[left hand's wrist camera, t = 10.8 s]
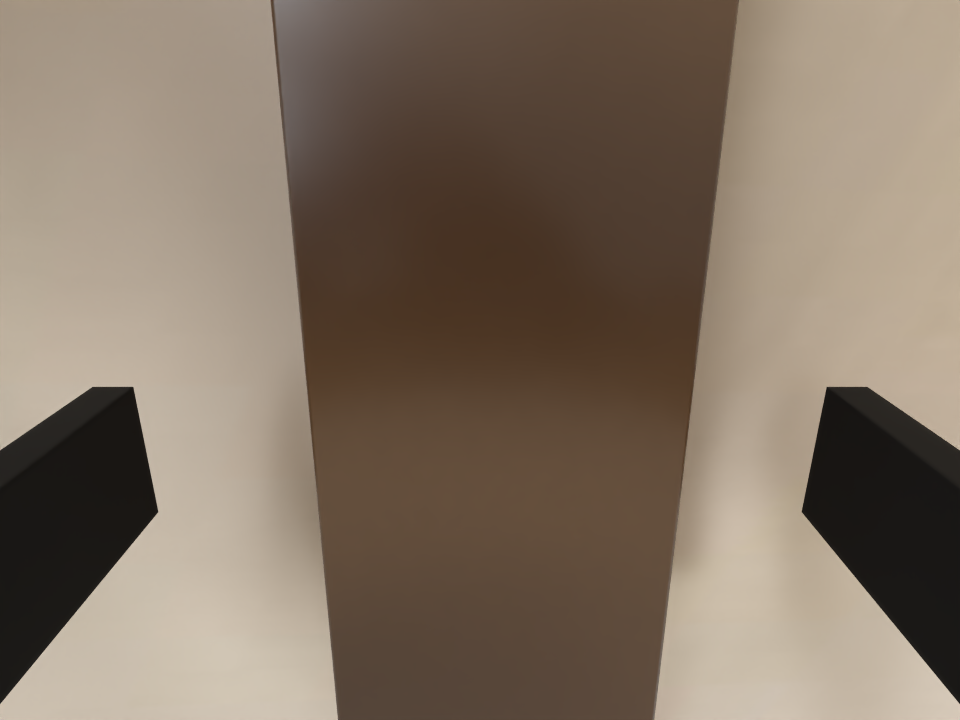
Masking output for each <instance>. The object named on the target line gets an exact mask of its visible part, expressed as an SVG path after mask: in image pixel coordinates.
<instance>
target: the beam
mask: <svg viewBox="0 0 960 720" xmlns="http://www.w3.org/2000/svg"><path fill="white" fill-rule="evenodd" d="M738 4H739V0H271V10H272V21H273V32H274V42H275V53H276V64H277V74H278V85H279V96H280V106H281V117H282V128H283V138H284V149H285V159H286V170H287V181H288V191H289V202H290V213H291V223H292V234H293V245H294V255H295V266H296V277H297V287H298V298H299V309H300V319H301V330H302V341H303V351H304V362H305V373H306V383H307V394H308V405H309V415H310V426H311V437H312V447H313V458H314V468H315V479H316V490H317V500H318V511H319V522H320V532H321V543H322V554H323V564H324V575H325V586H326V596H327V607H328V618H329V628H330V639H331V650H332V660H333V671H334V682H335V692H336V703H337V714H338V720H654V717H655V708H656V700H657V691H658V683H659V674H660V666H661V657H662V649H663V640H664V632H665V623H666V615H667V606H668V598H669V589H670V581H671V572H672V564H673V555H674V547H675V538H676V530H677V522H678V513H679V505H680V496H681V488H682V479H683V471H684V462H685V454H686V445H687V437H688V428H689V420H690V411H691V403H692V394H693V386H694V377H695V369H696V360H697V352H698V343H699V335H700V326H701V318H702V309H703V301H704V293H705V284H706V276H707V267H708V259H709V250H710V242H711V233H712V225H713V216H714V208H715V199H716V191H717V182H718V174H719V165H720V157H721V148H722V140H723V131H724V123H725V114H726V106H727V97H728V89H729V80H730V72H731V63H732V55H733V47H734V38H735V30H736V21H737V13H738Z"/></svg>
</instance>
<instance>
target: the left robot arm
mask: <svg viewBox="0 0 960 720" xmlns="http://www.w3.org/2000/svg"><path fill="white" fill-rule="evenodd" d="M157 513H158V508H157V503H156V498H155V493H154V488H153V483H152V478H151V473H150V468H149V463H148V458H147V453H146V448H145V443H144V438H143V433H142V428H141V423H140V418H139V413H138V408H137V404H136V399H135V394H134V389H133V387H92V388H91V389H89V390H88V391H86V392H85V393H83V394H82V395H80V396H79V397H77V398H76V399H75V400H73V401H72V402H70V403H69V404H67V405H66V406H64V407H63V408H61V409H60V410H59V411H57V412H56V413H54V414H53V415H51V416H50V417H48V418H47V419H45V420H44V421H42V422H41V423H40V424H38V425H37V426H35V427H34V428H32V429H31V430H29V431H28V432H26V433H25V434H24V435H22V436H21V437H19V438H18V439H16V440H15V441H13V442H12V443H10V444H9V445H8V446H6V447H5V448H3V449H2V450H0V704H1V702H2V701H3V700H4V699H5V697H6V696H7V695H8V694H9V693H10V691H11V690H12V689H13V688H14V687H15V685H16V684H17V683H18V682H19V680H20V679H21V678H22V677H23V676H24V674H25V673H26V672H27V671H28V670H29V668H30V667H31V666H32V665H33V663H34V662H35V661H36V660H37V659H38V657H39V656H40V655H41V654H42V653H43V651H44V650H45V649H46V648H47V646H48V645H49V644H50V643H51V642H52V640H53V639H54V638H55V637H56V636H57V634H58V633H59V632H60V631H61V629H62V628H63V627H64V626H65V625H66V623H67V622H68V621H69V620H70V619H71V617H72V616H73V615H74V614H75V612H76V611H77V610H78V609H79V608H80V606H81V605H82V604H83V603H84V602H85V600H86V599H87V598H88V597H89V595H90V594H91V593H92V592H93V591H94V589H95V588H96V587H97V586H98V585H99V583H100V582H101V581H102V580H103V578H104V577H105V576H106V575H107V574H108V572H109V571H110V570H111V569H112V568H113V566H114V565H115V564H116V563H117V561H118V560H119V559H120V558H121V557H122V555H123V554H124V553H125V552H126V551H127V549H128V548H129V547H130V546H131V544H132V543H133V542H134V541H135V540H136V538H137V537H138V536H139V535H140V534H141V532H142V531H143V530H144V529H145V527H146V526H147V525H148V524H149V523H150V521H151V520H152V519H153V518H154V517H155V515H156V514H157ZM802 513H803V514H804V515H805V517H806V518H807V519H808V520H809V521H810V523H811V524H812V525H813V526H814V527H815V529H816V530H817V531H818V532H819V534H820V535H821V536H822V537H823V538H824V540H825V541H826V542H827V543H828V544H829V546H830V547H831V548H832V549H833V551H834V552H835V553H836V554H837V555H838V557H839V558H840V559H841V560H842V561H843V563H844V564H845V565H846V566H847V568H848V569H849V570H850V571H851V572H852V574H853V575H854V576H855V577H856V578H857V580H858V581H859V582H860V583H861V585H862V586H863V587H864V588H865V589H866V591H867V592H868V593H869V594H870V595H871V597H872V598H873V599H874V600H875V602H876V603H877V604H878V605H879V606H880V608H881V609H882V610H883V611H884V612H885V614H886V615H887V616H888V617H889V619H890V620H891V621H892V622H893V623H894V625H895V626H896V627H897V628H898V629H899V631H900V632H901V633H902V634H903V636H904V637H905V638H906V639H907V640H908V642H909V643H910V644H911V645H912V646H913V648H914V649H915V650H916V651H917V653H918V654H919V655H920V656H921V657H922V659H923V660H924V661H925V662H926V663H927V665H928V666H929V667H930V668H931V670H932V671H933V672H934V673H935V674H936V676H937V677H938V678H939V679H940V680H941V682H942V683H943V684H944V685H945V687H946V688H947V689H948V690H949V691H950V693H951V694H952V695H953V696H954V697H955V699H956V700H957V701H958V702H959V704H960V450H958V449H957V448H955V447H954V446H952V445H951V444H950V443H948V442H947V441H945V440H944V439H942V438H941V437H939V436H938V435H936V434H935V433H934V432H932V431H931V430H929V429H928V428H926V427H925V426H923V425H922V424H920V423H919V422H917V421H916V420H915V419H913V418H912V417H910V416H909V415H907V414H906V413H904V412H903V411H901V410H900V409H899V408H897V407H896V406H894V405H893V404H891V403H890V402H888V401H887V400H885V399H884V398H883V397H881V396H880V395H878V394H877V393H875V392H874V391H872V390H871V389H869V388H868V387H827V389H826V394H825V399H824V403H823V408H822V413H821V418H820V423H819V428H818V433H817V438H816V443H815V448H814V453H813V458H812V463H811V468H810V473H809V478H808V483H807V488H806V493H805V498H804V503H803V508H802Z"/></svg>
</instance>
